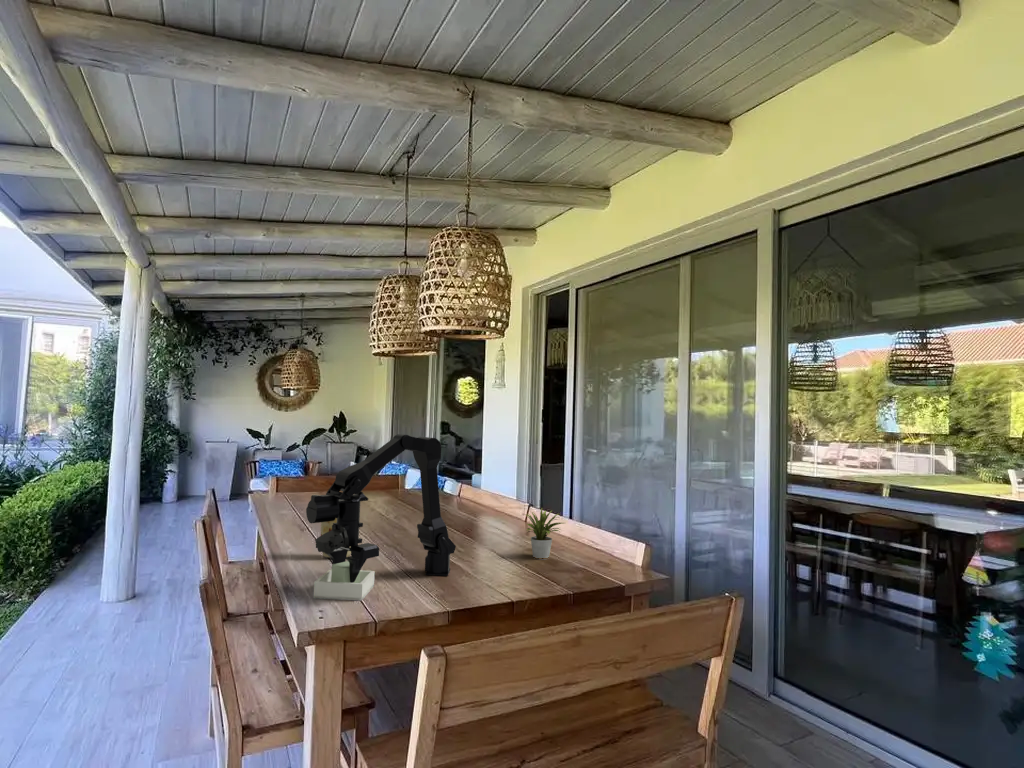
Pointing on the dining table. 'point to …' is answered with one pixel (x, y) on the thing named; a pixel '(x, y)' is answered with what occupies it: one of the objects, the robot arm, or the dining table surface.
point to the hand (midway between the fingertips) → (345, 580)
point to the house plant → (541, 534)
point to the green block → (342, 573)
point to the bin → (343, 587)
